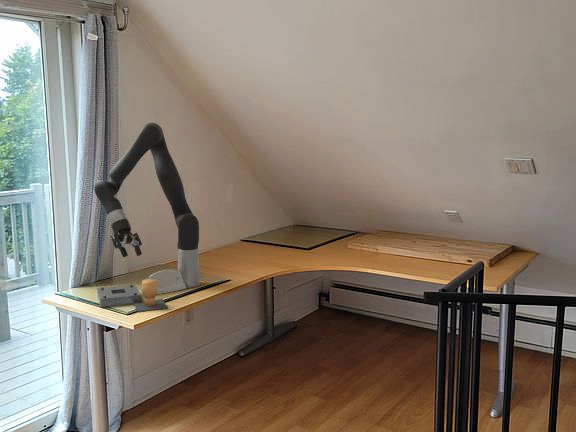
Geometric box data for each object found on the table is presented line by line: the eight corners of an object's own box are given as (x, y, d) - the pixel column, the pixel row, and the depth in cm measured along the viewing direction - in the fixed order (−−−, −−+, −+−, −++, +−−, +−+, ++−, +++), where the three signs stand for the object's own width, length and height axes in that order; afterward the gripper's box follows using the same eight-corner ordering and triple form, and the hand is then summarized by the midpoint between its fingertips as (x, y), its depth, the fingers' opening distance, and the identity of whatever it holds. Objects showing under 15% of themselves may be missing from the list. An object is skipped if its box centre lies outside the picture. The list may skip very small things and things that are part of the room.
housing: (135, 292, 265) (135, 283, 264) (140, 303, 250) (140, 293, 249) (97, 295, 259) (96, 286, 258) (100, 307, 244) (100, 297, 244)
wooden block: (156, 301, 250) (155, 278, 249) (158, 306, 245) (158, 282, 243) (141, 303, 248) (140, 279, 247) (143, 307, 243) (143, 283, 241)
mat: (162, 300, 254) (162, 298, 254) (167, 308, 243) (167, 307, 243) (133, 303, 250) (133, 302, 250) (137, 312, 239) (137, 310, 239)
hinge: (152, 295, 260) (147, 272, 261) (148, 296, 264) (143, 274, 265) (187, 288, 270) (182, 266, 271) (182, 289, 274) (178, 267, 275)
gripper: (112, 218, 253) (126, 252, 249) (136, 218, 265) (150, 251, 261) (101, 226, 256) (114, 261, 252) (125, 226, 268) (138, 258, 265)
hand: (132, 255), depth 257 cm, fingers open, 8 cm apart
